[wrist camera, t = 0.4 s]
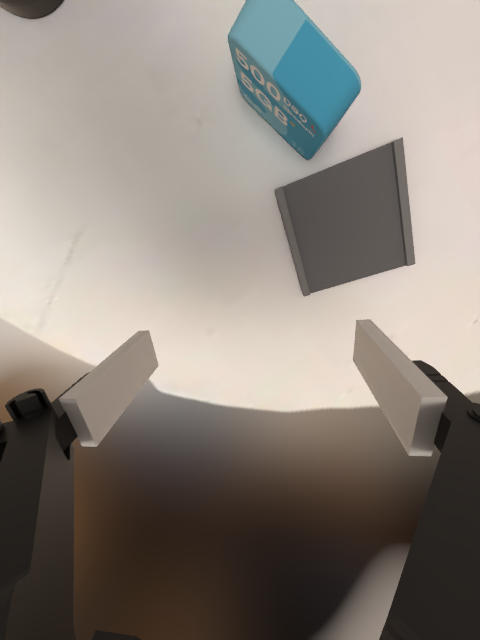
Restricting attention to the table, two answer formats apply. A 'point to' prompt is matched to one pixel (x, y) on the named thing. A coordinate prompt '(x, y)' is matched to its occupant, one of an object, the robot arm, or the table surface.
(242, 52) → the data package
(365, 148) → the table surface
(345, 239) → the dark gray square slab
